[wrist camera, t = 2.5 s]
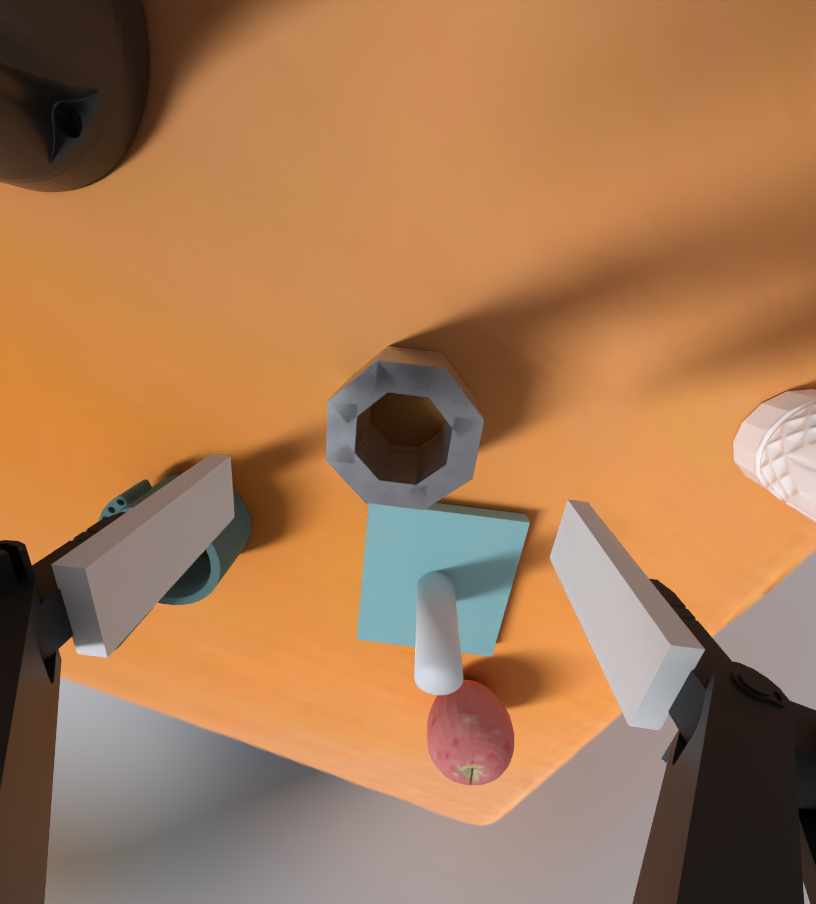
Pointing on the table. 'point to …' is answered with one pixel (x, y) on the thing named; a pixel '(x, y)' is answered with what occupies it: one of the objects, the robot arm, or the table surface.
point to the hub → (393, 465)
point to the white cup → (782, 449)
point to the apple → (470, 735)
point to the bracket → (204, 569)
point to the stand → (438, 584)
